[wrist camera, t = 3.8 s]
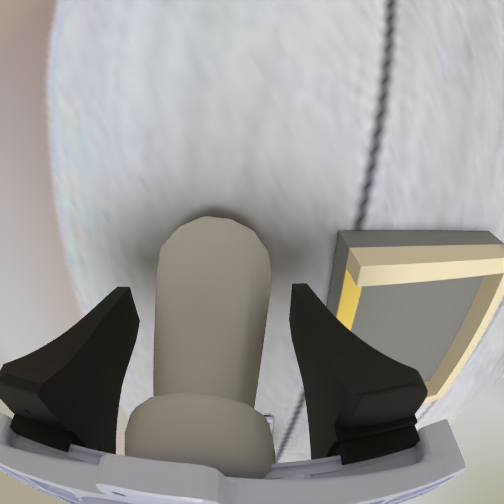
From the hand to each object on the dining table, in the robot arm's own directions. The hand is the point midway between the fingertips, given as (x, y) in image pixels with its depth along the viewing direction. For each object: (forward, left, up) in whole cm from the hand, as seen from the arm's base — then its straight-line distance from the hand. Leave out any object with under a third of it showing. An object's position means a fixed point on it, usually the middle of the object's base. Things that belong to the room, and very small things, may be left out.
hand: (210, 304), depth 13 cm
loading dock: (-7, -14, -5) cm, 16 cm away
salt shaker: (0, 0, -5) cm, 5 cm away
